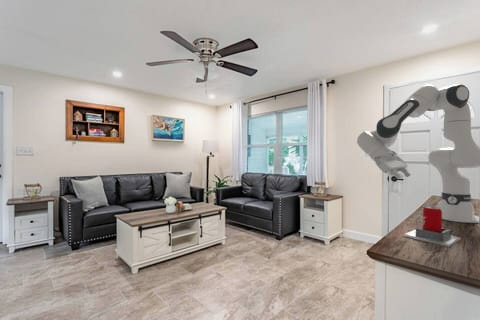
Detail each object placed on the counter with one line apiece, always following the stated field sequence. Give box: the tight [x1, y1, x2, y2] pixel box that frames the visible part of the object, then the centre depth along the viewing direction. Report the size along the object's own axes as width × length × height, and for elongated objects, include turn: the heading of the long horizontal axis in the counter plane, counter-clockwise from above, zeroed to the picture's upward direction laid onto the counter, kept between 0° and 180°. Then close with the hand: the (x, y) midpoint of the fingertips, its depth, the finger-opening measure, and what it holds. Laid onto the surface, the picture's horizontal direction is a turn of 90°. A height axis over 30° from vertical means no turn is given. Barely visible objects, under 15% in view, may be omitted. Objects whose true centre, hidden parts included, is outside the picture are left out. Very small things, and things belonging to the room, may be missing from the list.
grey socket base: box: [403, 227, 461, 248], centre depth 102 cm, size 14×15×4 cm
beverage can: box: [422, 205, 443, 233], centre depth 102 cm, size 6×6×12 cm
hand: (405, 177), depth 116 cm, fingers open, 8 cm apart
